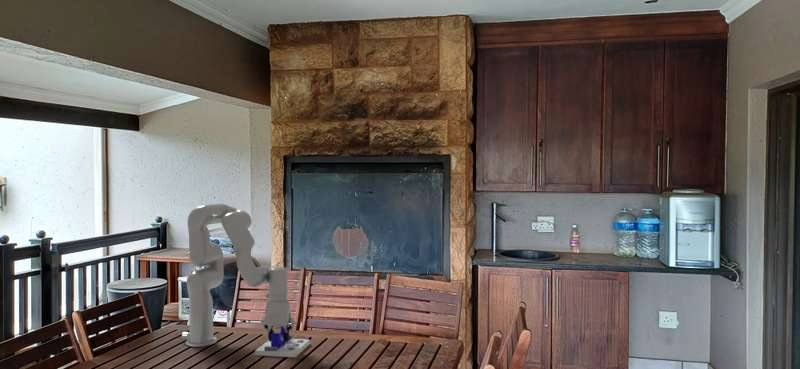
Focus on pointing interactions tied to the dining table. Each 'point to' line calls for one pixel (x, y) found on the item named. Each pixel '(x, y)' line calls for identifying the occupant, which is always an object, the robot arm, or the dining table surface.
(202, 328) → the robot arm
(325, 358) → the dining table surface
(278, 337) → the cable clip
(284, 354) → the white square board
